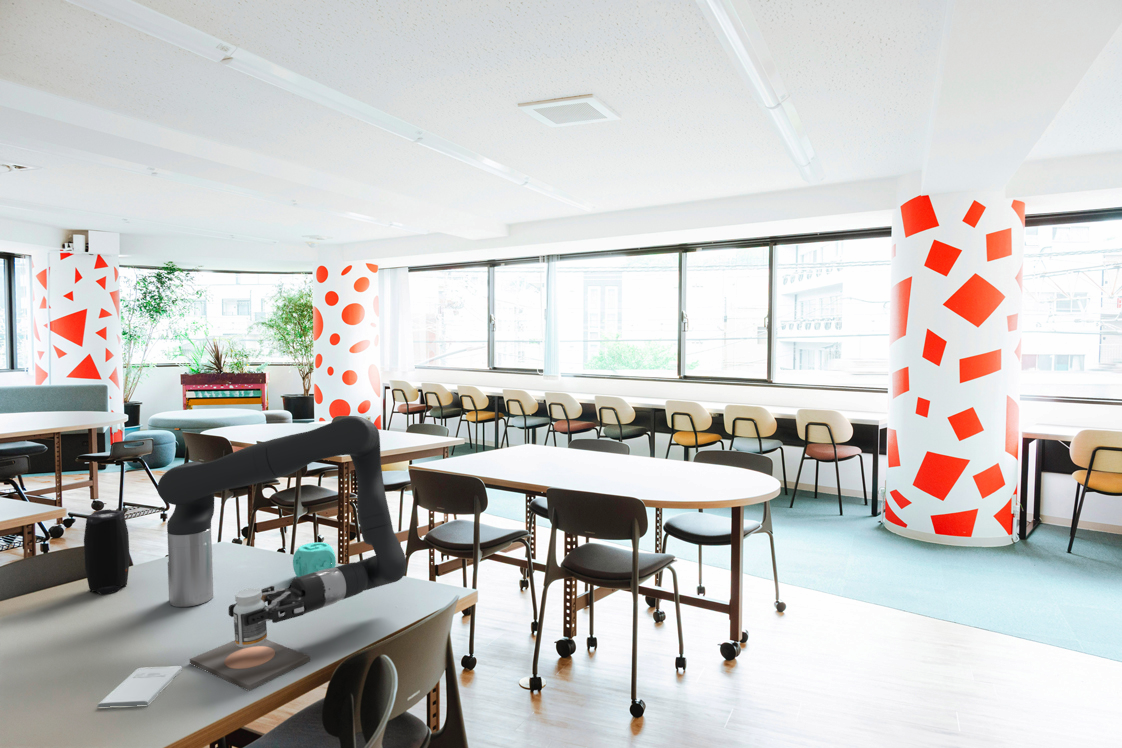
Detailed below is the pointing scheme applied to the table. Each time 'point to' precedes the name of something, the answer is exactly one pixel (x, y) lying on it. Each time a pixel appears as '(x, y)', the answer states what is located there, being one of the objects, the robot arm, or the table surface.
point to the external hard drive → (140, 686)
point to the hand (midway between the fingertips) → (236, 616)
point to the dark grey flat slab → (250, 662)
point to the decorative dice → (313, 558)
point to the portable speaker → (106, 551)
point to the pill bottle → (245, 604)
